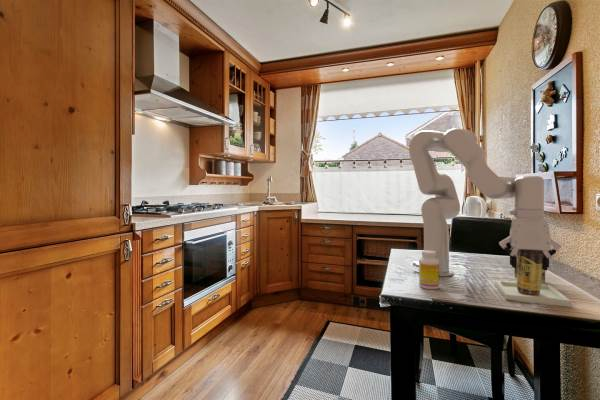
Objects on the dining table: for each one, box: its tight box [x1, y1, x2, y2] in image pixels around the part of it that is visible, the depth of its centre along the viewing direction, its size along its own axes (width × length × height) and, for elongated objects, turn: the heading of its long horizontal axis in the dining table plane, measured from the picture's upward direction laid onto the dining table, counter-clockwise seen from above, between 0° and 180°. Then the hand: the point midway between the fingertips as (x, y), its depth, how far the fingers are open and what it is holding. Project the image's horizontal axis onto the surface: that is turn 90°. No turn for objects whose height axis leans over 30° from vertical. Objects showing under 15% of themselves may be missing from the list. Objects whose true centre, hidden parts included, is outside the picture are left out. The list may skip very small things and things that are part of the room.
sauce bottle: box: [516, 250, 543, 295], centre depth 98 cm, size 7×6×20 cm
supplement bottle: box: [418, 249, 440, 290], centre depth 108 cm, size 7×7×13 cm
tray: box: [494, 279, 572, 308], centre depth 98 cm, size 16×16×2 cm
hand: (528, 268), depth 98 cm, fingers open, 7 cm apart
